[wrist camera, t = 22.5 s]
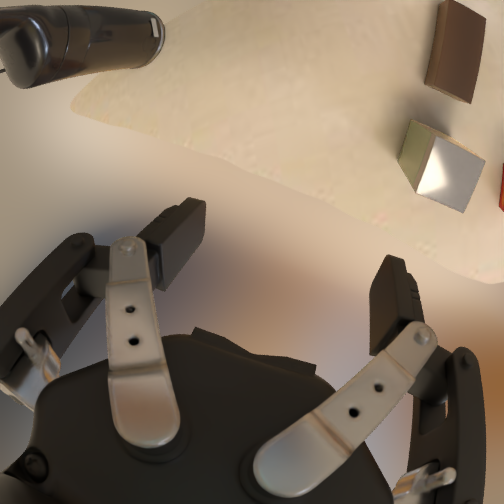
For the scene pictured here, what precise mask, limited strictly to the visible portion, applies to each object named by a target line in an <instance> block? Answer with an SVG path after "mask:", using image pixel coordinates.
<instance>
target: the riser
mask: <svg viewBox="0 0 504 504" xmlns="http://www.w3.org/2000/svg"><path fill="white" fill-rule="evenodd" d="M485 25H486V18H484V17H483V16H481V15H479V14H478V13H476V12H474V11H473V10H471V9H469V8H467V7H465V6H464V5H462V4H460V3H458V2H456V1H454V0H446V1H444V2H442V3H441V4H439V9H438V16H437V23H436V30H435V36H434V42H433V47H432V52H431V57H430V62H429V67H428V71H427V76H426V80H425V85H427V86H429V87H432V88H434V89H436V90H438V91H440V92H442V93H444V94H447V95H449V96H451V97H453V98H455V99H456V100H459V101H462V102H466V103H469V104H471V101H472V98H473V93H474V89H475V85H476V81H477V76H478V71H479V66H480V60H481V55H482V48H483V42H484V34H485Z"/></svg>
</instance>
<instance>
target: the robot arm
mask: <svg viewBox="0 0 504 504" xmlns="http://www.w3.org/2000/svg"><path fill="white" fill-rule="evenodd" d="M164 38H165V29H164V25H163V23H162V21H161V19H160V18H159V17H158V16H157V15H156V14H154V13H151V12H148V11H138V10H131V9H122V8H114V7H102V6H83V5H58V6H42V5H24V6H12V7H0V58H1V60H2V62H3V65H4V69H1V70H0V73H2V72H5V71H6V73H7V75H8V77H9V79H10V81H11V82H12V83H13V84H14V85H15V86H16V87H18V88H21V89H28V88H33V87H36V86H40V85H43V84H46V83H50V82H55V81H59V80H63V79H67V78H72V77H76V76H81V75H87V74H92V73H98V72H104V71H111V70H119V69H128V68H130V69H133V68H140V67H143V66H145V65H147V64H149V63H150V62H151V61H153V60H154V59H155V57H156V56H157V55H158V53H159V52H160V50H161V48H162V46H163V43H164ZM205 215H206V202H205V201H203V200H198V199H195V198H191V197H188V198H187V199H186V200H185V201H183V202H182V203H181V204H180V205H179V206H177V205H174V206H172V207H170V208H167V209H165V210H164V211H163V212H162V213H161V214H160V215H159V216H158V217H156V218H155V219H154V220H153V221H152V222H151V223H150V224H149V225H147V226H146V227H145V228H144V229H143V230H142V231H141V232H140V233H139V234H138V235H137V236H136V237H133V236H128V237H123V238H120V239H118V240H116V241H115V242H114V243H113V244H112V245H111V246H101V245H95V243H94V238H93V236H92V235H90V234H88V233H76V234H73V235H71V236H69V237H68V238H66V239H65V240H64V241H63V242H62V243H61V244H60V245H59V246H58V247H57V248H56V249H54V251H52V252H51V254H49V255H48V256H47V257H46V258H45V259H44V260H43V261H42V262H41V263H40V264H39V265H38V266H37V267H36V268H35V269H34V270H33V271H32V272H31V273H30V274H29V275H28V276H27V277H26V279H25V280H24V281H23V282H22V283H21V284H20V285H19V286H18V287H17V288H16V289H15V290H14V292H13V293H12V294H11V295H10V296H9V297H8V298H7V300H6V301H5V302H4V303H3V304H2V305H1V306H0V389H1V390H2V391H3V392H4V393H5V394H7V395H9V396H10V397H11V398H12V399H13V400H14V401H15V402H17V403H18V404H20V405H26V406H27V407H28V408H29V409H31V410H32V411H33V412H34V419H33V428H32V433H31V437H30V441H29V444H28V446H27V448H26V450H25V452H24V453H23V454H22V455H21V456H20V457H19V458H18V459H17V460H16V461H15V462H14V463H12V464H11V465H10V466H9V467H7V468H6V469H5V470H3V471H2V472H1V473H0V504H483V497H484V486H485V471H486V424H485V409H484V400H483V399H484V398H483V390H482V382H481V375H480V368H479V363H478V360H477V358H476V356H475V355H474V353H473V352H471V351H470V350H469V349H468V348H465V347H458V348H457V349H456V350H455V351H454V352H453V353H451V352H449V351H447V350H445V349H444V348H442V347H440V346H439V345H437V342H438V341H437V337H436V335H435V333H434V331H433V330H432V329H431V328H430V327H429V326H428V325H427V324H425V321H424V315H423V310H422V305H421V301H420V296H419V293H418V292H419V291H418V286H417V283H416V281H415V279H414V278H413V276H412V275H411V274H410V273H407V270H406V266H405V261H404V260H403V259H401V258H398V257H395V256H392V255H386V257H385V258H384V260H383V262H382V264H381V266H380V268H379V270H378V273H377V274H376V276H375V278H374V280H373V282H372V285H371V288H370V293H369V300H370V301H369V302H370V353H369V354H370V355H371V356H375V357H374V358H373V359H372V360H371V361H370V362H369V363H368V364H367V365H366V366H365V367H364V368H363V369H362V370H361V371H360V372H358V373H357V374H356V375H355V376H354V377H353V378H352V379H351V380H350V381H348V382H347V383H346V384H345V385H344V386H343V387H341V388H340V389H339V390H338V391H337V392H336V391H335V389H334V388H333V387H332V386H331V385H330V384H329V383H328V382H326V381H325V380H324V379H322V378H321V377H319V376H317V375H316V374H315V371H316V365H315V364H311V363H307V362H303V361H300V360H296V359H293V358H289V357H282V356H269V355H256V354H252V353H249V352H248V351H247V350H245V349H243V348H241V347H240V346H238V345H236V344H235V343H233V342H231V341H230V340H228V339H226V338H225V337H222V336H219V335H217V334H214V333H211V332H208V331H205V330H202V329H200V328H197V327H195V328H194V330H193V332H192V334H191V335H186V334H176V335H168V336H163V337H161V335H160V330H159V325H158V319H157V314H156V309H155V303H154V297H153V291H154V289H155V288H157V289H159V290H162V291H166V289H167V288H168V287H169V285H170V284H171V282H172V281H173V280H174V278H175V277H176V276H177V274H178V273H179V272H180V270H181V269H182V268H183V266H184V265H185V264H186V262H187V261H188V260H189V258H190V257H191V256H192V254H193V253H194V252H195V250H196V249H197V248H198V247H199V245H200V244H201V242H202V240H203V236H204V231H205ZM72 280H73V282H74V286H73V287H72V288H71V289H70V290H69V291H68V293H67V294H66V295H65V296H64V297H63V299H62V300H61V296H62V293H63V291H64V289H65V288H66V287H67V286H68V285H69V283H70V282H71V281H72ZM103 298H105V299H106V332H107V349H108V359H105V360H103V361H100V362H98V363H95V364H92V365H90V366H87V367H85V368H82V369H79V370H77V371H74V372H72V373H69V374H66V375H63V376H61V377H60V376H59V372H60V369H61V362H60V359H61V357H62V356H63V354H64V353H65V351H66V349H67V348H68V347H69V345H70V344H71V342H72V341H73V339H74V338H75V337H76V335H77V334H78V332H79V331H80V330H81V328H82V327H83V325H84V324H85V323H86V321H87V320H88V318H89V317H90V316H91V314H92V313H93V312H94V310H95V309H96V308H97V306H98V305H99V304H100V302H101V301H102V300H103ZM407 392H408V393H409V394H411V395H413V397H414V398H413V419H412V432H411V442H410V451H409V460H408V466H407V473H405V474H404V475H403V476H402V477H400V479H399V480H398V482H397V484H396V487H395V488H394V489H393V491H391V489H390V487H389V485H388V483H387V481H386V479H385V478H384V476H383V474H382V472H381V471H380V469H379V467H378V465H377V463H376V461H375V459H374V458H373V456H372V454H371V452H370V450H369V448H368V447H367V445H366V443H365V441H364V440H365V439H366V438H367V437H368V436H369V435H370V434H371V433H372V432H373V431H374V430H375V428H376V427H378V425H379V424H380V423H381V422H382V421H383V420H384V419H385V418H386V417H387V415H388V414H389V413H390V412H391V411H392V409H393V408H394V407H395V406H396V405H397V404H398V402H399V401H400V400H401V399H402V398H403V396H404V395H405V394H406V393H407ZM446 400H448V414H447V417H446V416H445V415H446V414H445V412H446V411H445V401H446ZM445 417H446V418H445Z"/></svg>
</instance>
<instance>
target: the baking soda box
mask: <svg viewBox="0 0 504 504" xmlns="http://www.w3.org/2000/svg"><path fill="white" fill-rule="evenodd" d="M499 207H500V208H501V209H502V211H503V212H504V163H503V174H502V185H501V194H500V202H499Z"/></svg>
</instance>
